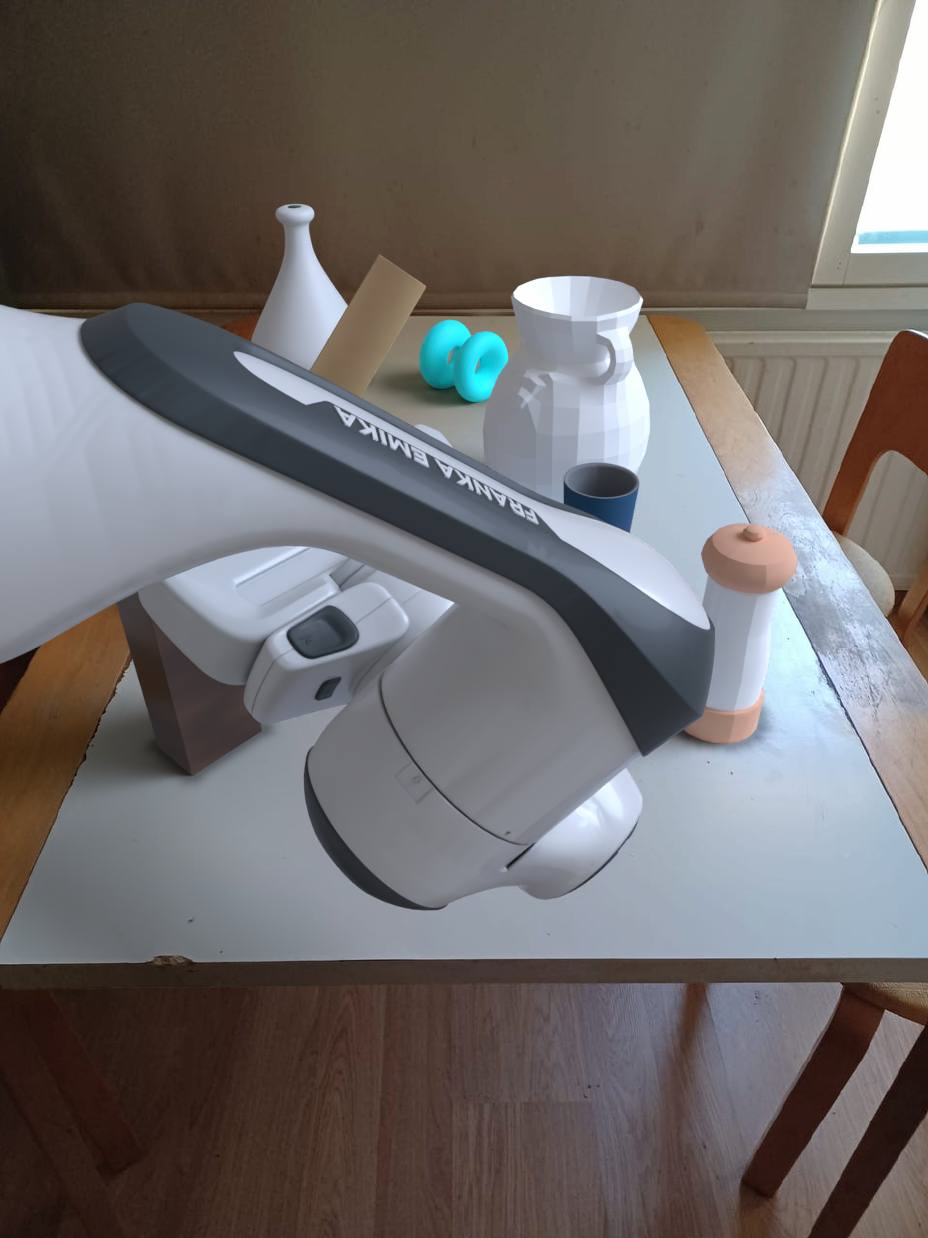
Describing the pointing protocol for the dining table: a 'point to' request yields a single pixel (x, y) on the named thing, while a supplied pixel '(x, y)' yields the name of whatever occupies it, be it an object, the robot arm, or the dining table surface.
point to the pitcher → (568, 385)
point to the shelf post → (183, 696)
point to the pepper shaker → (741, 624)
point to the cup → (603, 492)
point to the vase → (299, 296)
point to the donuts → (462, 359)
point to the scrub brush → (368, 327)
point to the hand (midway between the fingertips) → (240, 434)
